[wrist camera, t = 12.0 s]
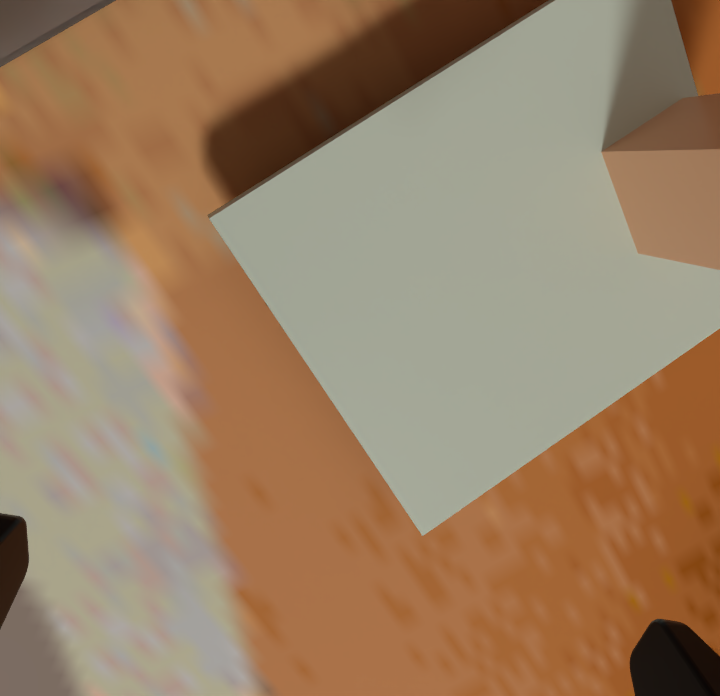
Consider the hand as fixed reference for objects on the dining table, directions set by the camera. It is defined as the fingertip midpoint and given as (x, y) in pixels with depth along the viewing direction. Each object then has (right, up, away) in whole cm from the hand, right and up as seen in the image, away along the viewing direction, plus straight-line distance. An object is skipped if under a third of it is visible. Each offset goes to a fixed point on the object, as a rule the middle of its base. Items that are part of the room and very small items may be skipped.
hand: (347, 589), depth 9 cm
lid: (+4, +7, +12) cm, 14 cm away
